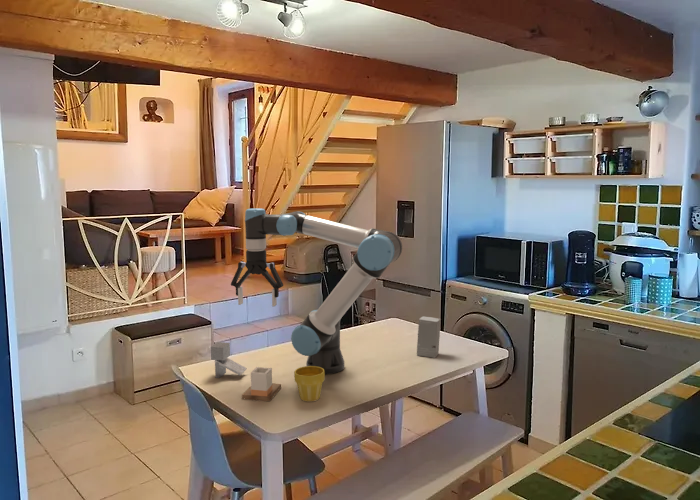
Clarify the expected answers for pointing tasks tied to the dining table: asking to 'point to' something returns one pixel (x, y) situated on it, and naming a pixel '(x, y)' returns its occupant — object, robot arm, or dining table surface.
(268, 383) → the sleeve
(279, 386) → the pin board
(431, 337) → the skincare box
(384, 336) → the dining table surface
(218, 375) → the chute
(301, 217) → the robot arm
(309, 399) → the plant pot
